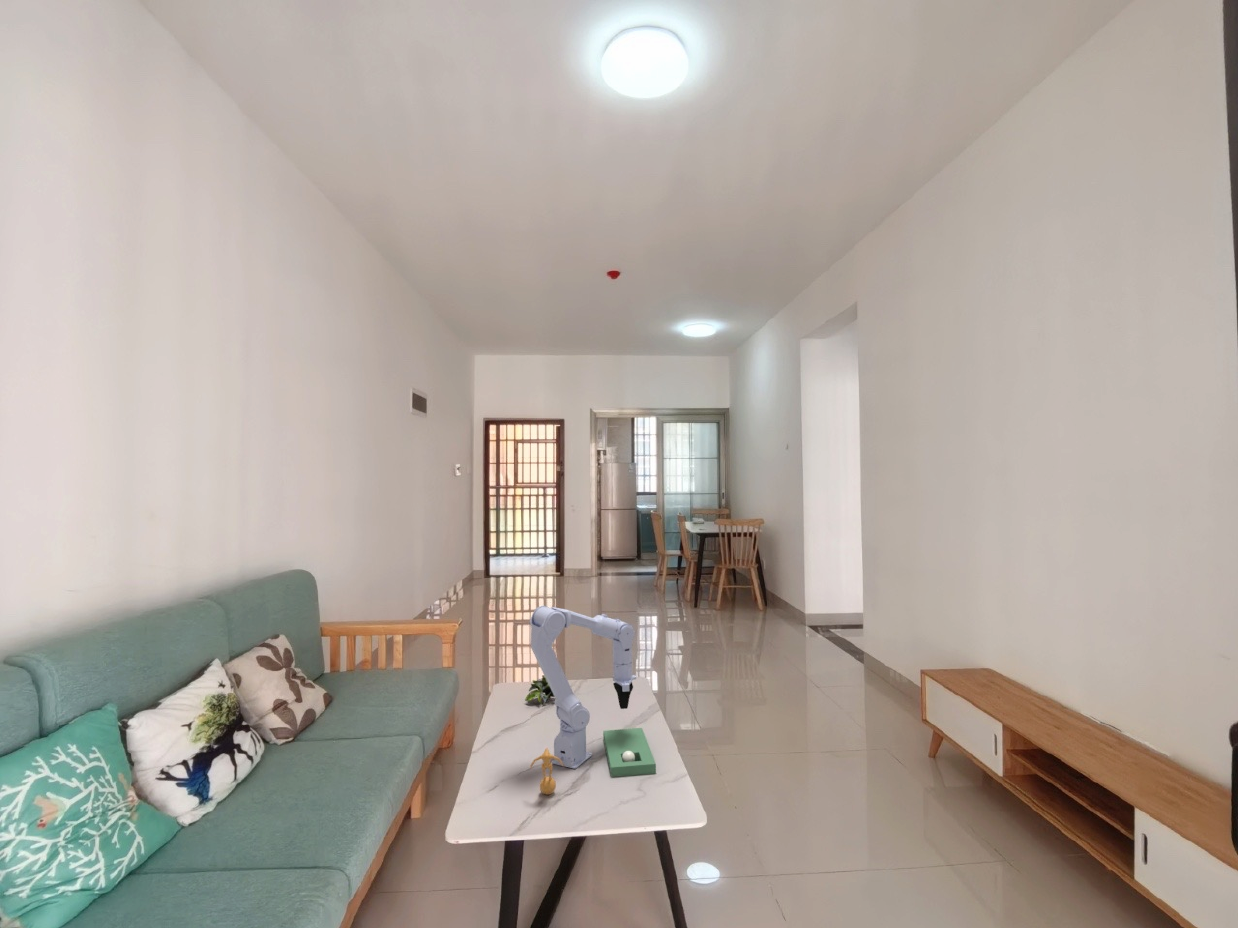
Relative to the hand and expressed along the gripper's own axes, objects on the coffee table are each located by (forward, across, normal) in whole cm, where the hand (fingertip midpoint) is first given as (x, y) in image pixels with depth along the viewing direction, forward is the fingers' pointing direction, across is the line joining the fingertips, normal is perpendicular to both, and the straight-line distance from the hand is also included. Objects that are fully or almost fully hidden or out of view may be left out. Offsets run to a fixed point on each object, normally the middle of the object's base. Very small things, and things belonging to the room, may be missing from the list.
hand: (623, 707), depth 178 cm
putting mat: (+10, -8, 0) cm, 13 cm away
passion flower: (+11, +39, +24) cm, 47 cm away
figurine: (+11, -27, +23) cm, 37 cm away
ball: (+8, -14, +1) cm, 17 cm away
